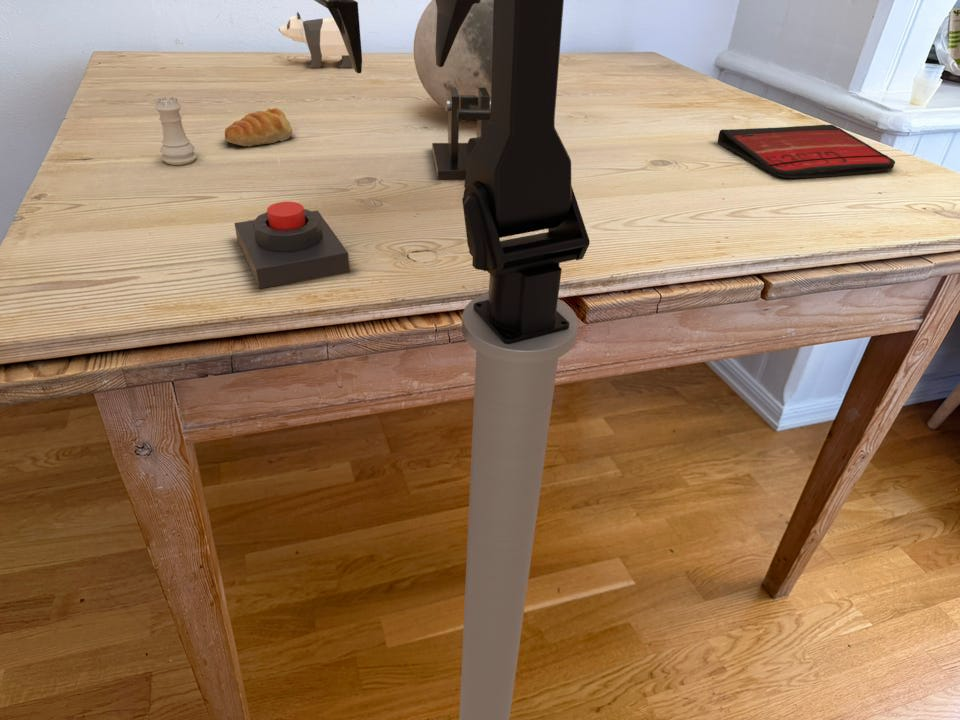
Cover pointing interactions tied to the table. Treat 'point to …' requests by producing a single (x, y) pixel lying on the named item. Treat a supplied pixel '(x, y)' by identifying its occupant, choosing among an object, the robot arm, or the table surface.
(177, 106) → the rook chess piece
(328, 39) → the giant panda
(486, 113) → the lever
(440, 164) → the bracket
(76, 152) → the table surface
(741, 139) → the binder
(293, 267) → the button box
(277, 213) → the button
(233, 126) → the pastry
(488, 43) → the moon model
